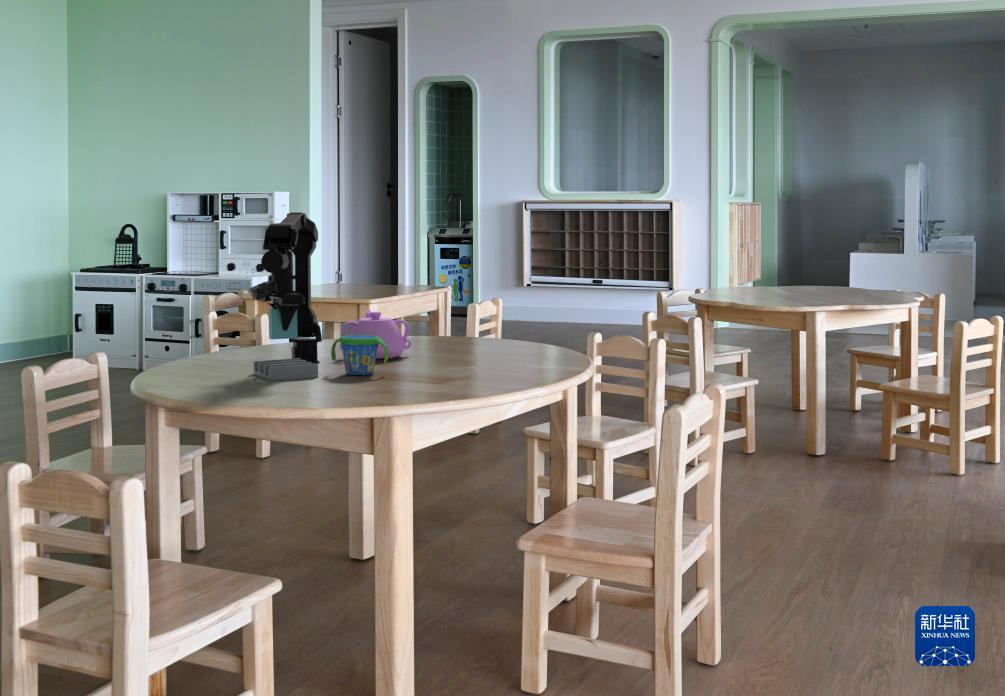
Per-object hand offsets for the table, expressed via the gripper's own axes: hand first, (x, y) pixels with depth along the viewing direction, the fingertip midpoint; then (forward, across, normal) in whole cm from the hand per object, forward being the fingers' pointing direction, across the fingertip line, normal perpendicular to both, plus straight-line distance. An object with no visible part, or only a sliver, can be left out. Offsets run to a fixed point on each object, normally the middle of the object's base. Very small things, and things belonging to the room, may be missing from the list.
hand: (283, 330), depth 290 cm
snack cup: (+12, +7, +19) cm, 24 cm away
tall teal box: (+2, 0, 0) cm, 2 cm away
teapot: (+12, -25, +36) cm, 46 cm away
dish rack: (+12, 0, 0) cm, 12 cm away
